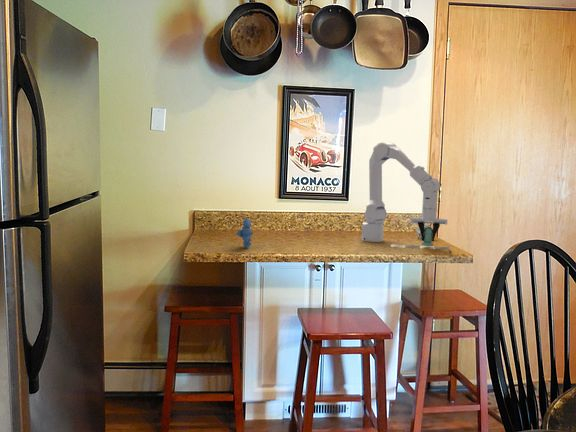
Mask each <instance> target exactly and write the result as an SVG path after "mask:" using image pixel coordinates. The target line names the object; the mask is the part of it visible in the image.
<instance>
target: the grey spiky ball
mask: <svg viewBox="0 0 576 432" xmlns="http://www.w3.org/2000/svg"><path fill="white" fill-rule="evenodd" d="M432 226H433V224H430V223H429V224H427V223H424V229H425V228H426V227H431V228H432ZM413 231H415V233H416V236H417V240H422V236H421V232H420V228H419V226H417V228H413Z"/></svg>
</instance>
